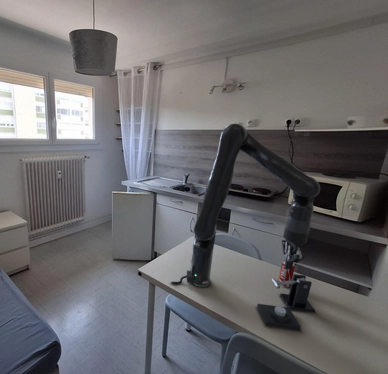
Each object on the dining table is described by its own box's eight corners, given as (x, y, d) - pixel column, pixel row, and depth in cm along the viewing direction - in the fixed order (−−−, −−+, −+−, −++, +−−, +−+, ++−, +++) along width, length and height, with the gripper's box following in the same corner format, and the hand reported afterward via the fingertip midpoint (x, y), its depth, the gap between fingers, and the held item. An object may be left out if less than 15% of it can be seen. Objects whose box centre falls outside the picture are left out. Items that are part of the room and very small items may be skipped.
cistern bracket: (288, 309, 93) (294, 283, 89) (279, 295, 100) (284, 271, 97) (314, 312, 91) (321, 286, 88) (303, 298, 99) (309, 273, 96)
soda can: (292, 288, 105) (297, 266, 102) (280, 286, 106) (285, 264, 103) (287, 281, 110) (292, 260, 107) (276, 279, 111) (280, 258, 108)
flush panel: (265, 326, 84) (267, 317, 83) (256, 307, 93) (258, 299, 92) (299, 330, 83) (301, 322, 82) (287, 311, 91) (289, 303, 90)
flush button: (276, 316, 84) (277, 312, 84) (272, 309, 88) (273, 305, 87) (287, 317, 84) (288, 313, 84) (282, 310, 87) (283, 306, 87)
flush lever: (276, 289, 93) (276, 284, 92) (271, 282, 98) (271, 277, 97) (308, 288, 91) (308, 283, 90) (301, 280, 95) (301, 275, 95)
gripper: (278, 220, 91) (271, 258, 95) (295, 235, 78) (285, 277, 83) (298, 222, 90) (290, 260, 94) (318, 237, 77) (307, 280, 81)
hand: (287, 268), depth 88 cm, fingers closed
